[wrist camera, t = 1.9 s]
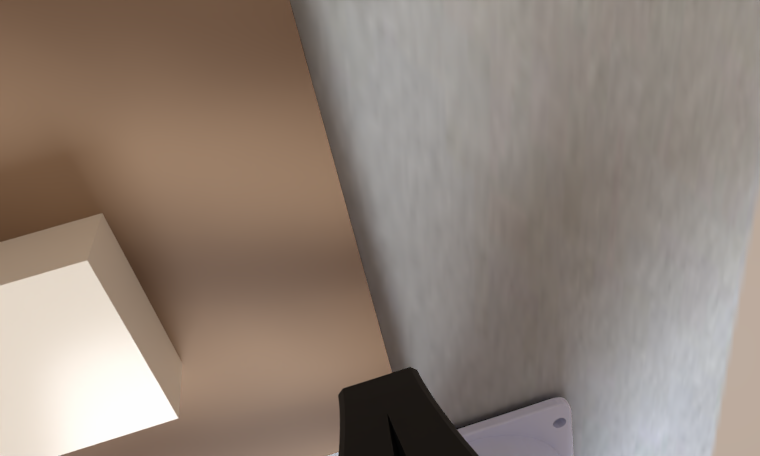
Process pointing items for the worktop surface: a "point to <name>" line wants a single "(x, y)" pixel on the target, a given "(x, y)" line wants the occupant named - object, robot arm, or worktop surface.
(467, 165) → the worktop surface
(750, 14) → the worktop surface
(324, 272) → the board
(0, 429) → the tile
